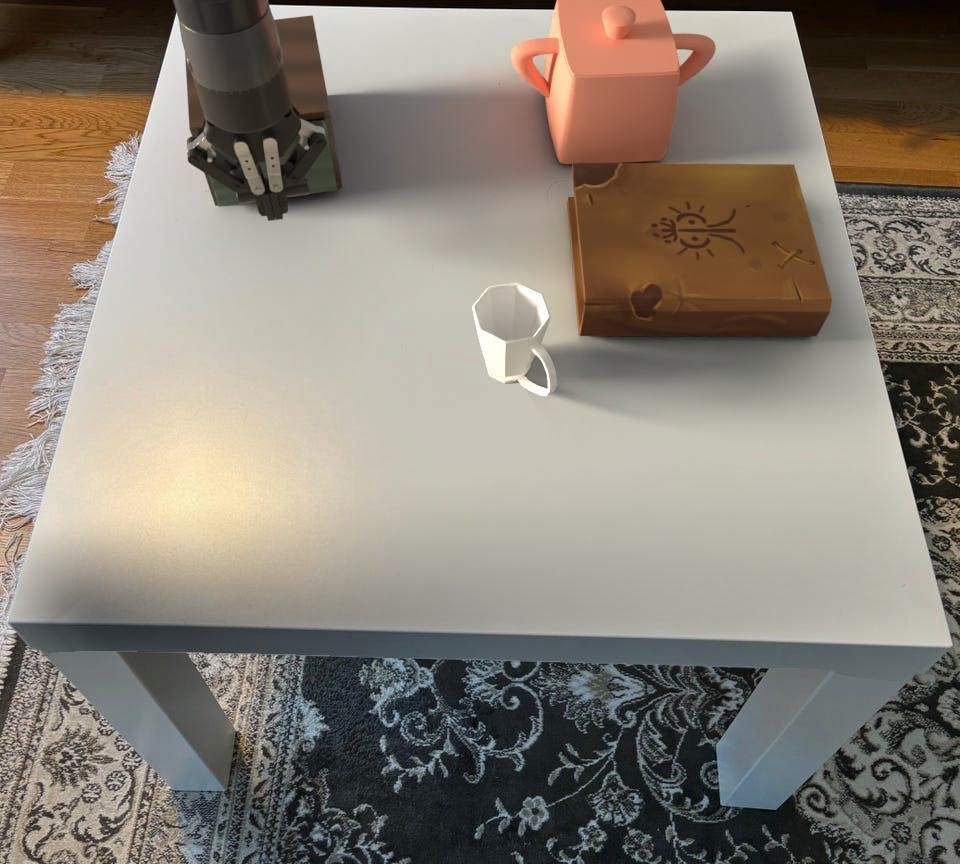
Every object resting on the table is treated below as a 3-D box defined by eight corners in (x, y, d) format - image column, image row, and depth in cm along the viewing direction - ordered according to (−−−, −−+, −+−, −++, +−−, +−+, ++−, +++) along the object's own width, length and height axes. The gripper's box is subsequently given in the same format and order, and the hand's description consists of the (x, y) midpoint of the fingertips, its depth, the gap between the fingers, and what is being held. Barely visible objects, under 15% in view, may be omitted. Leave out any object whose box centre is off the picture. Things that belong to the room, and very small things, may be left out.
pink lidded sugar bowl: (708, 165, 99) (741, 56, 88) (513, 173, 98) (519, 63, 87) (676, 53, 110) (701, -59, 98) (499, 59, 109) (503, -53, 97)
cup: (515, 324, 88) (519, 269, 81) (579, 393, 83) (589, 341, 76) (456, 357, 85) (455, 304, 78) (519, 430, 81) (524, 380, 74)
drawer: (343, 225, 93) (333, 163, 86) (222, 243, 91) (200, 181, 84) (322, 102, 103) (310, 37, 96) (212, 116, 102) (192, 51, 94)
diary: (579, 342, 86) (585, 304, 81) (566, 204, 96) (572, 162, 91) (813, 342, 87) (834, 304, 82) (778, 204, 96) (794, 162, 91)
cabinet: (342, 188, 97) (330, 110, 88) (215, 206, 96) (189, 128, 87) (325, 94, 105) (312, 14, 96) (207, 109, 104) (183, 30, 95)
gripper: (311, 22, 75) (337, 178, 90) (152, 40, 74) (204, 196, 88) (322, 78, 71) (346, 232, 86) (154, 98, 70) (208, 251, 85)
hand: (274, 213), depth 87 cm, fingers closed
